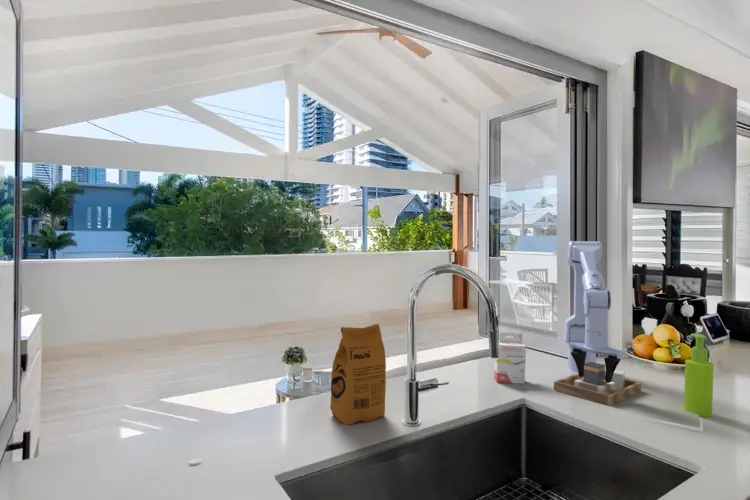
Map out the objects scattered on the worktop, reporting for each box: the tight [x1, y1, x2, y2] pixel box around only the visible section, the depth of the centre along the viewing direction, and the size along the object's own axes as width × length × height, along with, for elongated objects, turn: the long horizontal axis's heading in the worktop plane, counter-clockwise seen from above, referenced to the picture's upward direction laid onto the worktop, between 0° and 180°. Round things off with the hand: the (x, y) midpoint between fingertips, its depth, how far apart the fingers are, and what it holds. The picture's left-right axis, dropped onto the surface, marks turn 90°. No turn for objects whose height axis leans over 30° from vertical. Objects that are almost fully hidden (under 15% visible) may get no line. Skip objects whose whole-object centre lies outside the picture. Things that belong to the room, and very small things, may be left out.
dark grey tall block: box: [584, 362, 606, 386], centre depth 131 cm, size 4×4×8 cm
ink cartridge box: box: [493, 331, 527, 384], centre depth 142 cm, size 9×5×15 cm, turn 84°
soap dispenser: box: [683, 333, 714, 418], centre depth 118 cm, size 6×7×20 cm
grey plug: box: [611, 369, 626, 391], centre depth 134 cm, size 4×4×5 cm
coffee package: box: [329, 323, 387, 426], centre depth 111 cm, size 10×12×22 cm
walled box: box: [553, 372, 642, 407], centre depth 132 cm, size 20×16×4 cm
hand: (594, 378), depth 131 cm, fingers open, 7 cm apart
